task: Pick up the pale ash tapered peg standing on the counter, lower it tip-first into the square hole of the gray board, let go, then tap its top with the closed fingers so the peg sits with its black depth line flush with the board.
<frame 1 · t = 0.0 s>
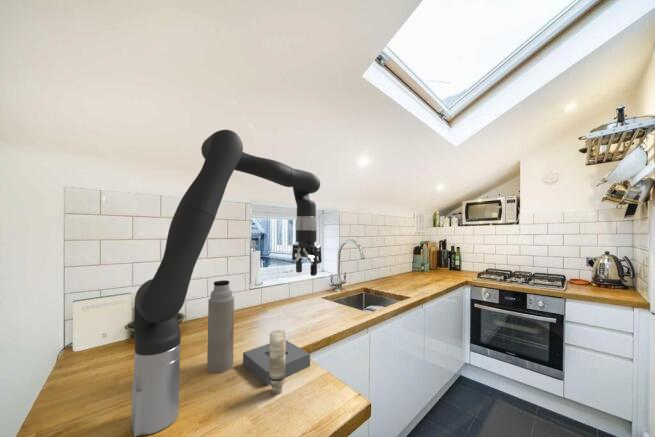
hand: (306, 273, 93), 29 cm above the countertop, tool pointing down, fingers open, 8 cm apart
gray board: (276, 365, 85), on the countertop
thermos bottle: (220, 367, 85), on the countertop
ash peg: (277, 391, 72), on the countertop
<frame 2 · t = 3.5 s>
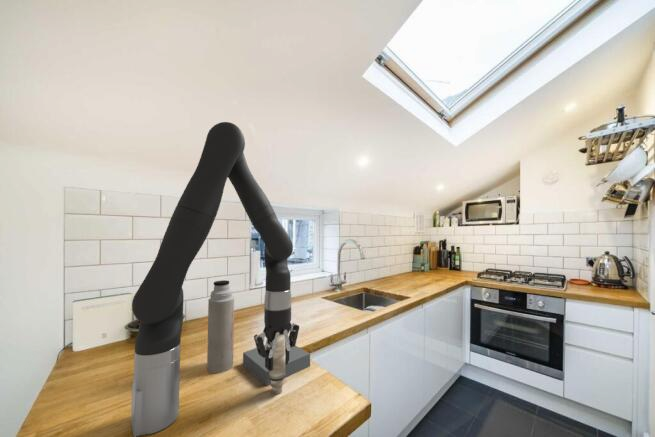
hand: (277, 366, 72), 7 cm above the countertop, tool pointing down, fingers closed on ash peg, 4 cm apart
ash peg: (277, 391, 72), on the countertop, touching gripper
everything else where it was.
when the fingers open (8 cm above the countertop, at t = 9.3 s): ash peg drops 1 cm, resting in gray board.
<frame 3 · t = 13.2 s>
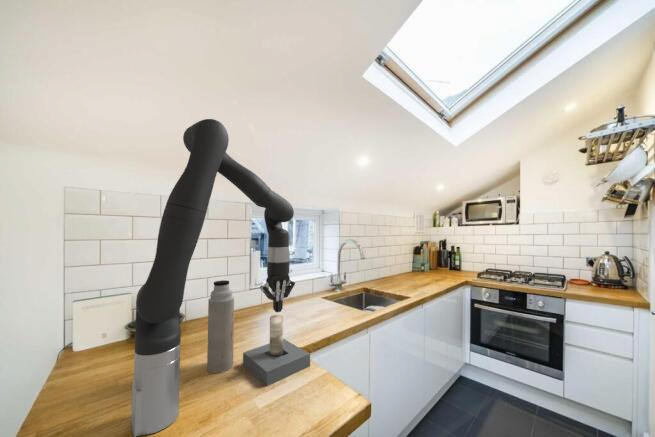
hand: (277, 311, 87), 18 cm above the countertop, tool pointing down, fingers closed
ash peg: (276, 365, 85), resting in gray board
everything else where it was.
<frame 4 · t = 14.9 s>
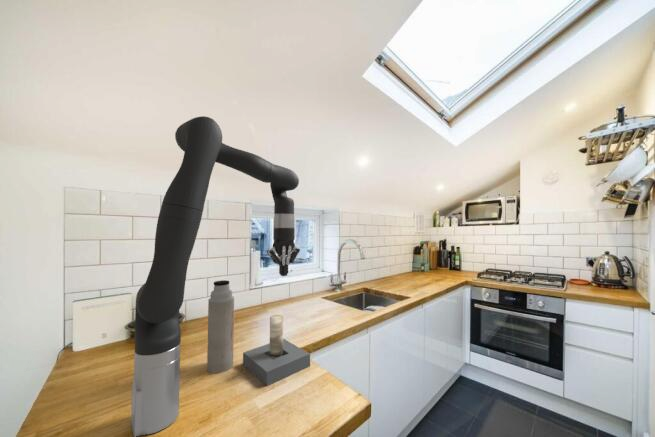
hand: (283, 275, 91), 29 cm above the countertop, tool pointing down, fingers closed
nothing on the countertop moved.
at the end: ash peg 0.1 cm off-centre on the gray board, point 0.0 cm above the gray board's base; ash peg tilted 0°; the gripper is holding nothing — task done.
